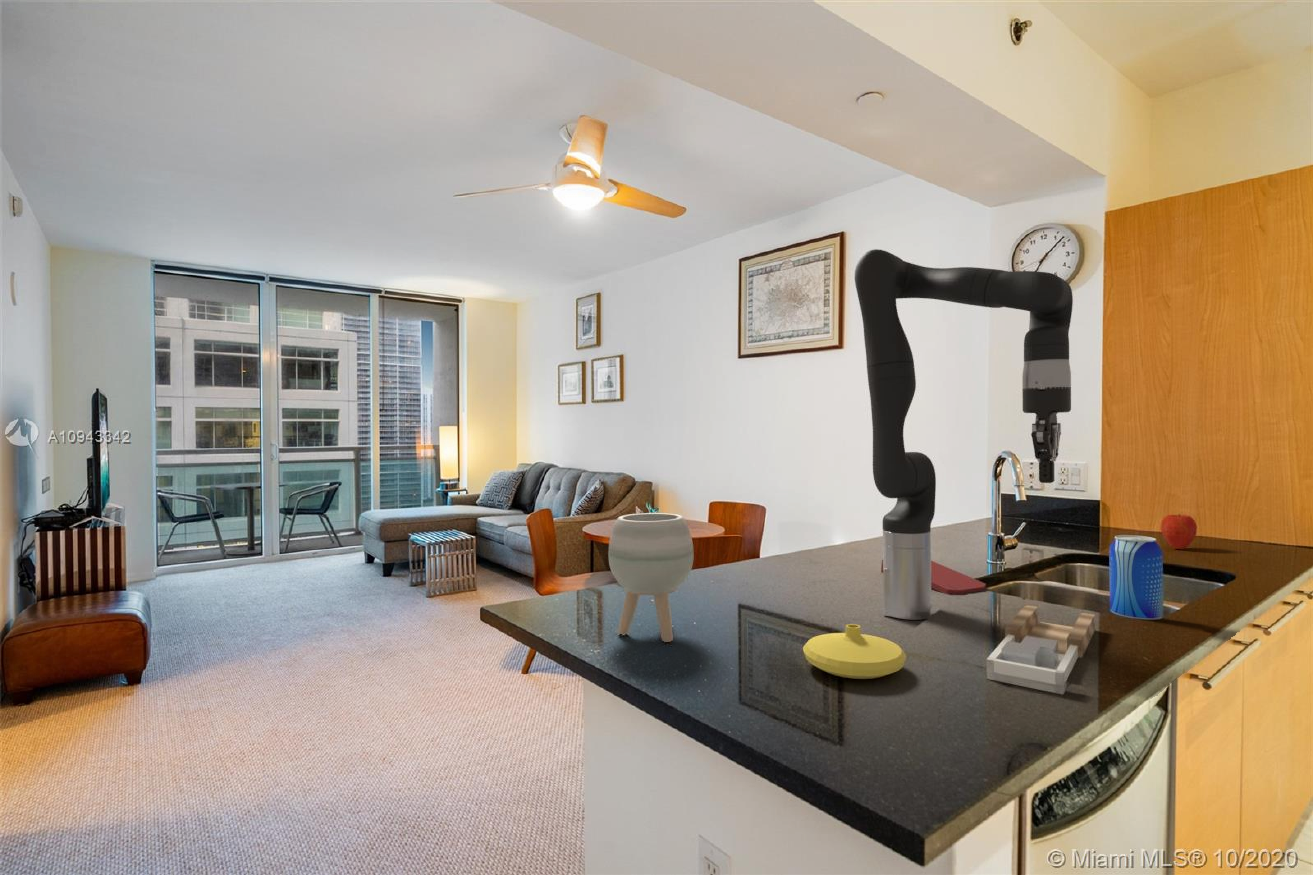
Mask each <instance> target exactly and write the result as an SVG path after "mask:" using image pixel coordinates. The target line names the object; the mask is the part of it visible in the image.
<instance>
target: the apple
mask: <svg viewBox="0 0 1313 875" xmlns="http://www.w3.org/2000/svg"><path fill="white" fill-rule="evenodd" d="M1197 530H1198V526H1197V522H1196V521H1195V519H1194V518H1193V517H1192V516H1190V515H1184V514H1183V515H1181V514H1180V513H1179V514H1169V515H1166V516H1164V517H1163V519H1162V520H1161V524H1160V531H1161V534H1162V535H1163V538H1164V539H1165V541H1166V542H1168V544H1169V546H1170V547H1172V548H1173V549H1174V550H1175V549H1177V550H1185V549H1186V548H1187V547H1188V546H1190V544H1192V542H1193V541H1194V539H1195V538H1196V535H1197Z"/></svg>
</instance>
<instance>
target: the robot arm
mask: <svg viewBox="0 0 1313 875" xmlns="http://www.w3.org/2000/svg"><path fill="white" fill-rule="evenodd" d="M854 283H855V289H856V293H857V297H858V298H857V299H858V304H859V308H860V313H861V318H862V326H863V337H864V338H863V340H864V347H865V356H866V360H865V361H866V372H867V373H866V374H867V381H868V382H867V383H868V390H869V399H870V407H871V408H870V409H871V410H870V411H871V425H872V475H873V481H874V484H875V486H876V489H877V490H878V492H879V493H880V494H881V496H883V497H885V498H887V499H896V503H895V505H894V507H893V508H892V509H891V510H890V511H888V512H887V513H886V514H885V515H884V516H883V517H882V559H883V574H882V577H883V579H882V582H883V583H882V584H883V585H882V586H883V589H882V590H883V593H882V594H883V616H886V617H892V618H895V619H896V618H897V619H902V620H911V621H913V620H915V621H917V620H918V621H919V620H920V621H921V620H926V619H929V618H931V617H932V615H933V604H932V602H933V600H932V599H933V598H932V597H933V596H932V595H933V594H932V590H933V589H932V588H931V561H932V542H931V541H932V539H931V538H932V534H931V526H932V522H933V519H934V518H935V510H936V489H937V483H936V482H937V481H936V480H937V478H936V477H937V476H936V470H935V467H934V466H935V465H934V464H933V462H932V460H931V459H930V458H929V456H928V455H926V454H924V453H923V452H917V451H908V452H906V450H905V438H904V428H905V427H904V425H905V421H906V417H907V415H908V412H909V410H910V407H911V405H912V402H913V400H914V396H915V393H916V388H917V386H916V385H917V382H916V381H917V380H916V371H915V361H914V356H913V352H912V349H911V345H910V342H909V340H908V337H907V335H906V333H905V330H904V328H903V325H902V323H901V321H900V317H899V313H898V307H897V300H898V299H900V300H901V299H928V300H936V301H937V300H939V301H946V302H950V303H957V304H963V305H969V306H977V307H983V308H991V309H992V308H993V309H1000V308H1009V309H1014V310H1021V311H1027V312H1029V327H1028V328H1029V329H1028V331H1027V332H1026V333H1025V335H1024V340H1023V368H1022V375H1021V376H1022V379H1021V380H1022V384H1021V385H1022V393H1021V394H1022V412H1023V413H1025V414H1035V422H1034V423H1032V425H1031V434H1030V435H1031V440H1032V446H1033V451H1034V457H1035V459H1036V460H1037V462H1038V481H1039V482H1040V483H1044V484H1052V483H1054V481H1055V462H1056V460H1057V458H1058V456H1059V448H1060V440H1061V435H1062V424H1061V422H1058V416H1057V414H1059V413H1069V412H1070V411H1071V410H1072V371H1071V366H1070V339H1069V332H1070V331H1069V330H1070V327H1071V323H1072V322H1071V321H1072V313H1073V305H1074V304H1073V303H1074V300H1073V299H1074V298H1073V289H1072V287H1071V285H1070V283H1069V282H1068V281H1066V280H1065V279H1063V278H1061V276H1058V275H1056V274H1055V273H1052V272H1051V273H1050V272H1047V271H1036V270H1020V271H1019V270H1016V271H1015V270H1014V271H1013V270H1011V271H1008V270H1002V269H995V268H994V269H993V268H986V267H985V268H984V267H975V266H973V267H972V266H969V267H968V266H966V267H965V266H963V267H962V266H960V267H946V268H943V267H941V268H940V267H939V268H938V267H928V266H923V265H919V264H914V263H911V262H909V261H905V260H903V259H902V258H900V257H899V256H897V255H895V254H893V253H891V252H889V251H886V250H884V249H876V248H874V249H870V250H868V251H866V252H865V253H864V254H862V256H861V257H860V258H859V260H858V261H857V264H856V265H855V270H854Z"/></svg>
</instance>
